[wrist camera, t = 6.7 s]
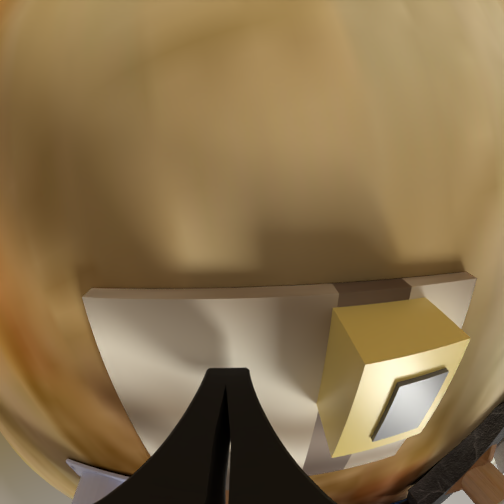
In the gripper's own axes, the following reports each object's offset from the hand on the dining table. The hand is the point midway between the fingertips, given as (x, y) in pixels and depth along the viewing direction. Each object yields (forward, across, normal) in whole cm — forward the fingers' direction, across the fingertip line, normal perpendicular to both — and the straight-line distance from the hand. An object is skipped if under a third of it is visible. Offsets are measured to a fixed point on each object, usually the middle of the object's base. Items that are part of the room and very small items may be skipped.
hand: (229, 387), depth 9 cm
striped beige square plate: (+2, -3, +4) cm, 5 cm away
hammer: (+2, -24, +20) cm, 31 cm away
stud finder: (+1, -6, 0) cm, 6 cm away
